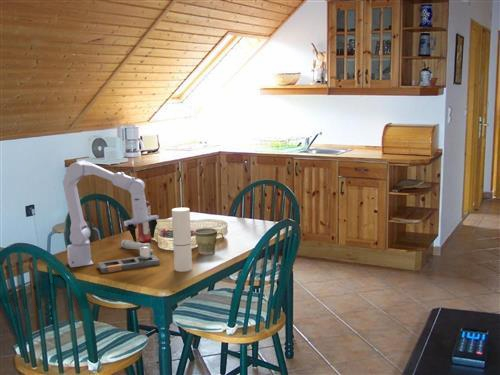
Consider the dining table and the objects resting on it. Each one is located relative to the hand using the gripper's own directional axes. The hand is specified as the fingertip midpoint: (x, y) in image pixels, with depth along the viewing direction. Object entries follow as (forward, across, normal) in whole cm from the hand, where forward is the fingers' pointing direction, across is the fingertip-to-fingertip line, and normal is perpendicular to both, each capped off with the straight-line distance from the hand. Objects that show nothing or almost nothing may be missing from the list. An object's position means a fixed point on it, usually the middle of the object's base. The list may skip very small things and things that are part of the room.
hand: (143, 239), depth 262 cm
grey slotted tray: (+10, -8, 0) cm, 13 cm away
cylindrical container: (+12, +10, -16) cm, 22 cm away
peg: (+10, -1, 0) cm, 10 cm away
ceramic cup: (+12, +29, 0) cm, 32 cm away
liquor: (+10, +10, +34) cm, 37 cm away
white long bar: (+10, +1, +19) cm, 21 cm away
